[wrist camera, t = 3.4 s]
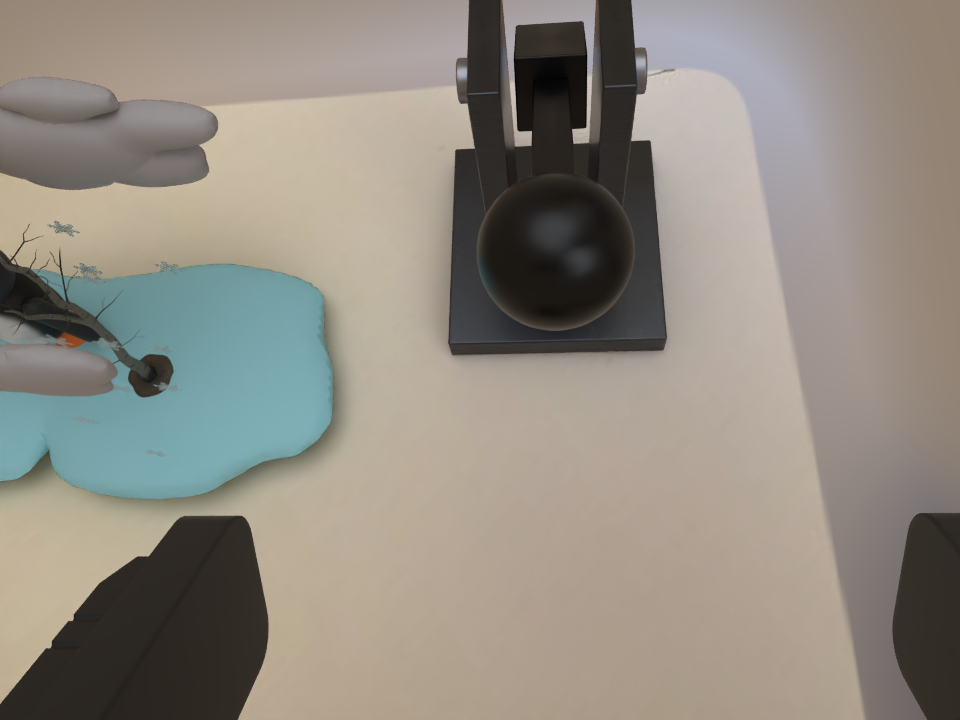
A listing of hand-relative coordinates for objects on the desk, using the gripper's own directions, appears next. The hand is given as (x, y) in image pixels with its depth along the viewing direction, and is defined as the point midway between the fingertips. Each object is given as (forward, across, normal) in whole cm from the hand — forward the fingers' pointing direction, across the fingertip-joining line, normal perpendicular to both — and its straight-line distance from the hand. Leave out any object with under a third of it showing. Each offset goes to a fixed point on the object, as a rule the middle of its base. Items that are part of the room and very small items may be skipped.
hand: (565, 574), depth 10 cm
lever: (+15, 0, -2) cm, 15 cm away
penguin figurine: (+23, +19, +7) cm, 31 cm away
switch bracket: (+27, 0, +3) cm, 27 cm away
